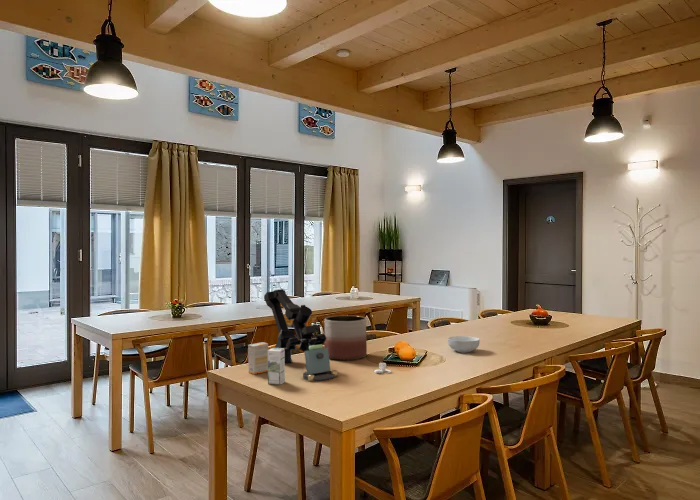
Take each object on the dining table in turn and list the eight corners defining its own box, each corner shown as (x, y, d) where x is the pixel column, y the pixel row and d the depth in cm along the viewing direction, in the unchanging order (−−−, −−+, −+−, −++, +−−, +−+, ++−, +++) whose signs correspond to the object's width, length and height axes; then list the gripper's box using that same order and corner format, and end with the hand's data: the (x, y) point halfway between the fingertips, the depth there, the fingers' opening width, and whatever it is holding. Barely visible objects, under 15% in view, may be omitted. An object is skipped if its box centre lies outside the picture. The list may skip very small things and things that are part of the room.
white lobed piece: (379, 375, 226) (379, 366, 226) (369, 372, 233) (369, 363, 233) (394, 373, 231) (394, 364, 231) (384, 369, 237) (384, 360, 237)
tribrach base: (295, 375, 226) (295, 369, 226) (323, 370, 234) (323, 365, 234) (312, 383, 213) (312, 377, 213) (341, 377, 221) (341, 372, 221)
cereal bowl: (477, 348, 282) (477, 335, 282) (481, 354, 265) (481, 341, 265) (446, 347, 284) (446, 335, 284) (449, 354, 267) (449, 341, 267)
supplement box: (262, 369, 237) (262, 341, 236) (268, 371, 233) (268, 343, 233) (247, 372, 231) (247, 344, 231) (253, 374, 227) (253, 345, 227)
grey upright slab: (307, 374, 222) (303, 346, 224) (326, 370, 227) (323, 344, 230) (313, 373, 217) (309, 345, 220) (332, 370, 223) (329, 343, 225)
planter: (334, 363, 249) (333, 322, 249) (318, 354, 269) (318, 316, 269) (373, 358, 258) (373, 319, 258) (355, 350, 278) (355, 314, 278)
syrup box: (285, 381, 216) (285, 347, 216) (280, 385, 210) (280, 350, 210) (272, 380, 217) (272, 347, 217) (267, 384, 211) (267, 350, 211)
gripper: (288, 320, 227) (300, 349, 218) (324, 317, 237) (336, 344, 228) (281, 335, 234) (292, 363, 224) (316, 331, 244) (328, 358, 235)
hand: (312, 357), depth 228 cm, fingers closed
